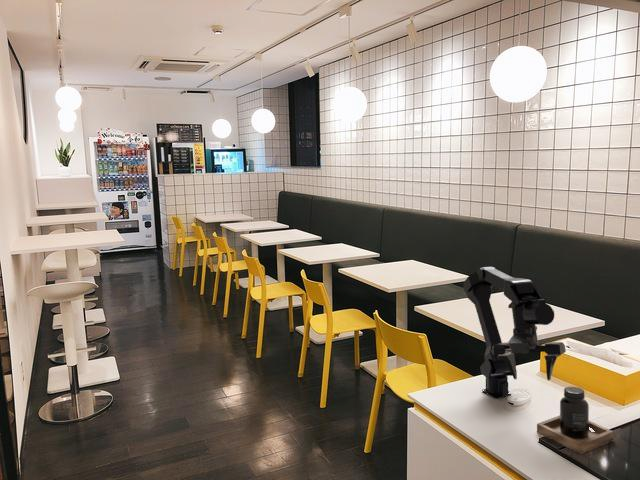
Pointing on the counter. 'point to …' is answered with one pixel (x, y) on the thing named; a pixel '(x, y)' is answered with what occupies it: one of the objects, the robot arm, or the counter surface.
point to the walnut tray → (577, 445)
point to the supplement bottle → (574, 413)
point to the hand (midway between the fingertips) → (531, 379)
